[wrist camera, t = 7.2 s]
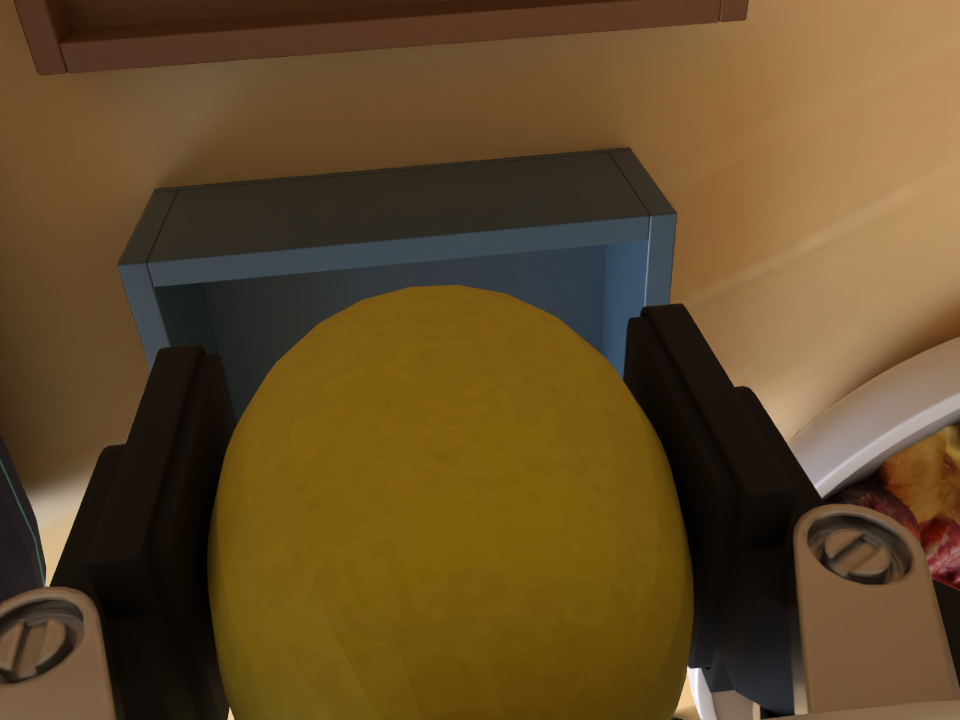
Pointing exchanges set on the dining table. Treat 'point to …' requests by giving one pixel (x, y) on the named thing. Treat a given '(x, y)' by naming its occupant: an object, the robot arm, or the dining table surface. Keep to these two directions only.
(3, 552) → the portable speaker
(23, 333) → the dining table surface
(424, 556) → the lemon
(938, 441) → the bowl
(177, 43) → the tray
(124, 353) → the dining table surface
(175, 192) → the blue open storage box
